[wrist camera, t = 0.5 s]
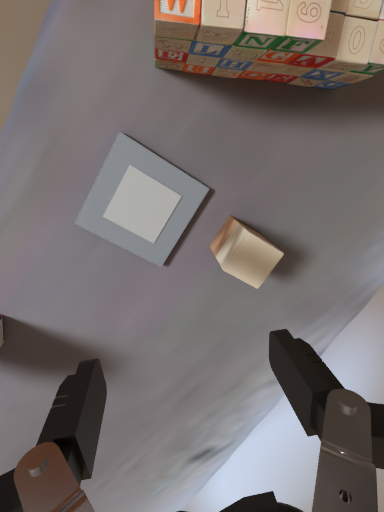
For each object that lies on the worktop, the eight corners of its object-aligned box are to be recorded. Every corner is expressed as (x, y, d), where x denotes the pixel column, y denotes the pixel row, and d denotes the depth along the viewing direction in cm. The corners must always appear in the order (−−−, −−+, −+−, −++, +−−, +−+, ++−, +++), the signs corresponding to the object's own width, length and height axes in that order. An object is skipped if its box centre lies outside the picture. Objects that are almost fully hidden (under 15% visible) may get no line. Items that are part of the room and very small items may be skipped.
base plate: (120, 132, 31) (119, 131, 30) (208, 187, 34) (209, 188, 33) (76, 221, 34) (74, 224, 33) (161, 264, 37) (161, 267, 36)
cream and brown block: (229, 215, 36) (249, 232, 29) (258, 233, 38) (284, 253, 30) (209, 246, 37) (223, 270, 30) (238, 262, 39) (258, 288, 31)
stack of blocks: (349, 25, 30) (467, -49, 19) (334, 90, 32) (432, 59, 21) (154, -6, 27) (155, -119, 16) (153, 68, 29) (152, 17, 18)
